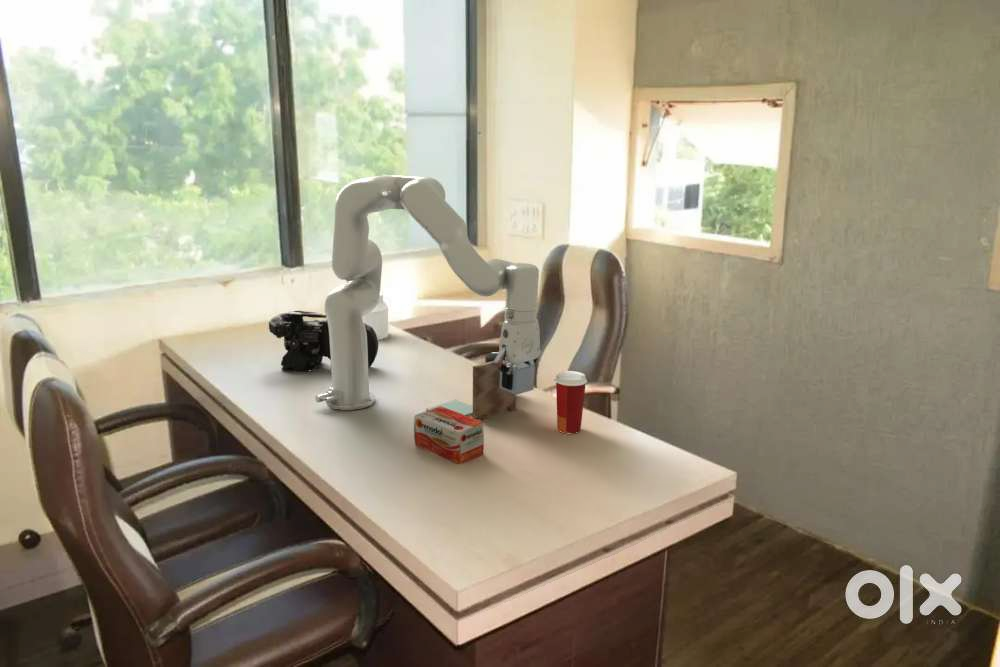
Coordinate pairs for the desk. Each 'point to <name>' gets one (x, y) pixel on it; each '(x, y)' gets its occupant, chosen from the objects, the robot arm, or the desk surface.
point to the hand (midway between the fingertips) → (516, 384)
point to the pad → (456, 407)
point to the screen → (489, 392)
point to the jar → (378, 318)
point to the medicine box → (449, 434)
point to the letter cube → (521, 378)
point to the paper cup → (570, 400)
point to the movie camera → (310, 340)
